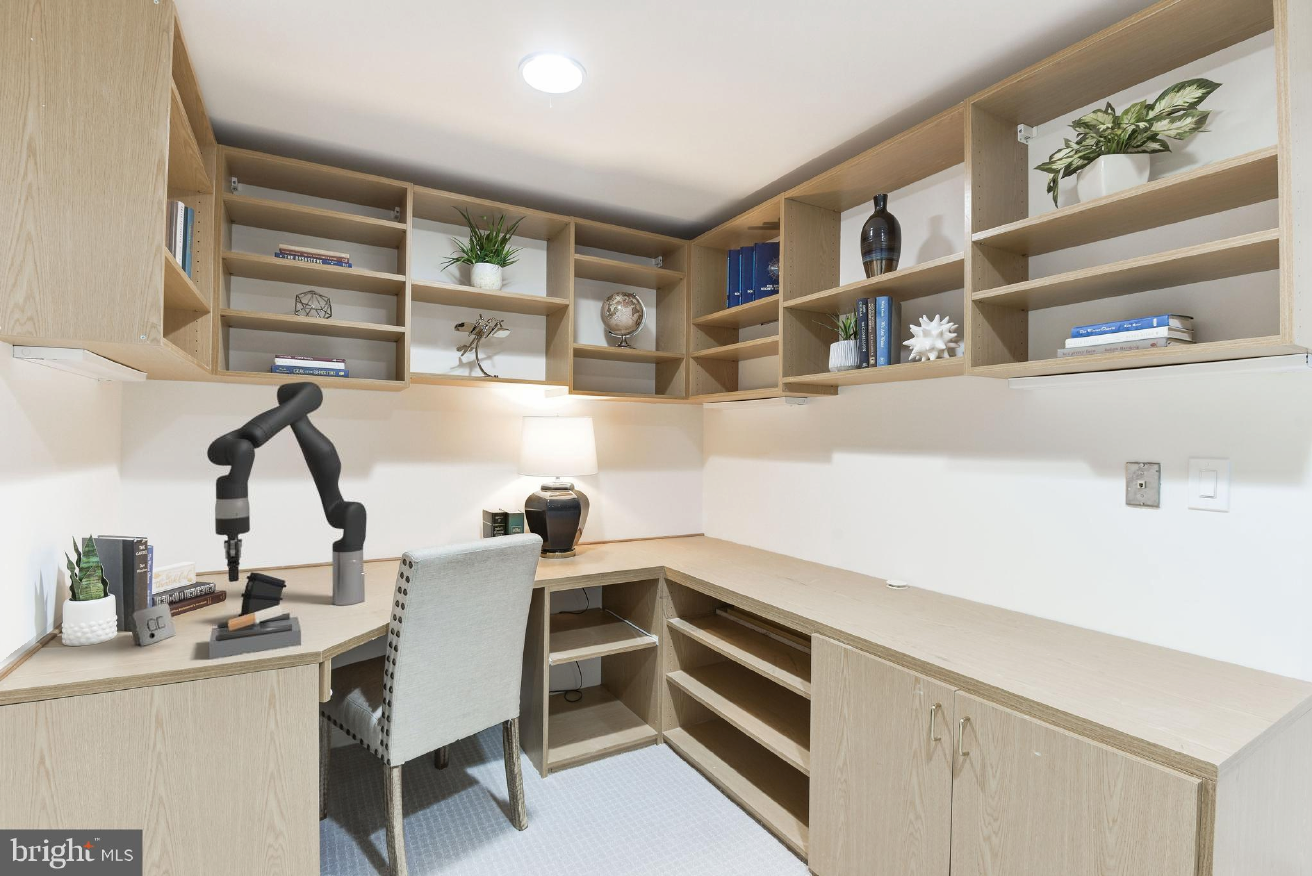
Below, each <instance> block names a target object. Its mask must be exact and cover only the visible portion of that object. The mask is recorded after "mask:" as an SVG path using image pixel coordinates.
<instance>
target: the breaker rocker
mask: <svg viewBox="0 0 1312 876" xmlns="http://www.w3.org/2000/svg"><path fill="white" fill-rule="evenodd" d="M282 614H283V611H282V607H281V604H280V605H277V606H274V607H271V608H267V609H264V610H261V611H257V612H254V613H251V614H247V615H244V616H241V617H239V616H238V617H235V618H234V617H233V618H231V619H228V621H229V623H228V627H229V631H231V630H234V629H237V628H240V627H244V626H247V625H250V624H253V623H254V625H258V624H259V622H260V621H263V620H266V619H270V618H273V617H276V616H279V615H282Z"/></svg>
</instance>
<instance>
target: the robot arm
mask: <svg viewBox="0 0 1312 876" xmlns="http://www.w3.org/2000/svg"><path fill="white" fill-rule="evenodd" d="M276 398H277V399H276V400H277V402H278V403H277V404H278V406H276V407H273V408H271V409H268V410H266V411H263V412H262V413H259V414H258V415H256V416H254V417H253V418H251V419H250V420H248V422H246V423H245V424H243V425H242V426H240V427H238V428H237V429H234V430H232V431H230V432H228V433H225V434H222V435H220V436H219V437H217V438H215V439H214V440H212V442H211V443H210V444H209V446H208V448H207V452H206V455H207V458H208V460H209V461H210V462H211V464H214V465H216V466H221V467H224V466H225V467H227V466H228V467H229V466H230V470H229V472H228V474H224V475H221V476H218V477H217V478H216V481H215V506H214V507H215V508H214V519H215V520H214V522H215V523H214V527H215V534H216V535H217V536H227V540H225V539H224V541H223V549H224V551H225V552H224V554H225V560H227V563H226V566H227V568H228V582H230V583H232V582H238V581H239V579H240V574H239V571H240V569H239V567H240V565H241V563H240V561H241V558H242V547H243V538H239V535H241V534H242V535H244V534H246V533H249V532H250V530H251V526H250V525H251V523H250V522H251V520H250V516H251V515H250V512H251V511H250V510H251V509H250V501H249V500H250V499H249V479H250V476H251V473H252V469H253V465H254V462H255V459H256V451H255V450H256V449H259V448H261V447H262V446H263V445H265V444H266V443H268V442H269V441H270V440H271V439H273V437H275V436H276V435H277V434H278V433H280V432H281V431H283V430H284V429H285V428H287V427H288V426H290V428H291V430H292V433H293V434H294V436H295V439H296V441H297V443H298V445H299V447H300V450H301V452H302V455H303V457H304V460H305V462H306V465H307V468H308V470H309V472H310V474H311V477H312V479H313V482H314V485H315V486H316V490H317V492H318V495H319V498H320V501H321V506H322V509H323V511H324V517H325V518H326V521H327V523H328V525H329V526H331V527H332V528H333V529H337V530H343V531H342V537H341V538H339V539H338V540H335V541H334V542H332V547H331V549H332V551H331V553H332V554H331V555H332V556H331V557H332V559H331V560H332V561H331V562H332V564H331V565H332V571H331V573H332V596H331V597H332V604H333V605H336V606H347V605H348V606H349V605H350V606H351V605H355V604H359V603H362V602H363V603H364V602H365V599H366V597H365V595H366V594H365V593H366V592H365V591H366V589H365V582H366V581H365V580H366V579H365V575H366V573H365V572H364V544H365V541H366V537H367V520H368V519H367V518H368V517H367V516H368V514H367V509H366V507H365V506H364V504H363V503H362V502H359V501H349V500H347V501H346V500H345V499H344V498H343V496H342V493H341V490H340V487H339V482H340V481H339V480H340V476H341V471H342V462H341V459H340V457H339V453H338V451H337V449H336V446H335V445H334V443H333V442H332V441H331V440H330V439H329V438H328V437H327V436H326V435H325V434H324V433H323V432H321V431H320V430H319V429H318V428H317V427H316V426H315V425H314V424H313V423H312V422H311V420H310V418H309V414H311V413H312V412H315V411H317V410H318V409H319V408H320V407H321V406H322V403H323V400H324V395H323V390H322V389H321V387H320V386H319V384H317V383H315V382H312V381H300V382H289V383H283V384H281V385H280V386H279V387H278V388H277V391H276Z"/></svg>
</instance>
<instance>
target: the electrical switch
mask: <svg viewBox="0 0 1312 876" xmlns="http://www.w3.org/2000/svg"><path fill="white" fill-rule="evenodd" d="M127 618H128V619H127V620H128V623H129V626H130V631H131V635H132V638H133V642H134V645H135V646H136V645H140V646H142V647H146V646H148V645H152V644H155V643H156V642H160V641H162V640H166V639H169V638H171V637H173V636H175V635H176V633H177V632H176V630H175V626H174V621H173V617H172V614H171V608H170V605H169V604H168V603H162V604H158V605H154V606H151V607H148V608H143V609H140V610H137V611H134V613H133V614H132V615H131V616H128V617H127Z"/></svg>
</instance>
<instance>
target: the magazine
mask: <svg viewBox="0 0 1312 876" xmlns="http://www.w3.org/2000/svg"><path fill="white" fill-rule="evenodd" d="M246 579H247V583H246V585H245V588H244V592H243V593H241V595H240V598H242V603H241V608H240V609H241V610H240V613H239V614H238V617H241V616H244V615H247V614H251V613H254V612H257V611H261V610H264V609H267V608H271V607H274V606H277V605H280V606H281V601H283V599H284V598H283V597H282V593H283V590H284V588H287V584H286V580H284V579H281V578H277V577H273V576H271V575H267V574H263V573H260V572H254V571H251V572H250V574H249V575H246Z"/></svg>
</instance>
